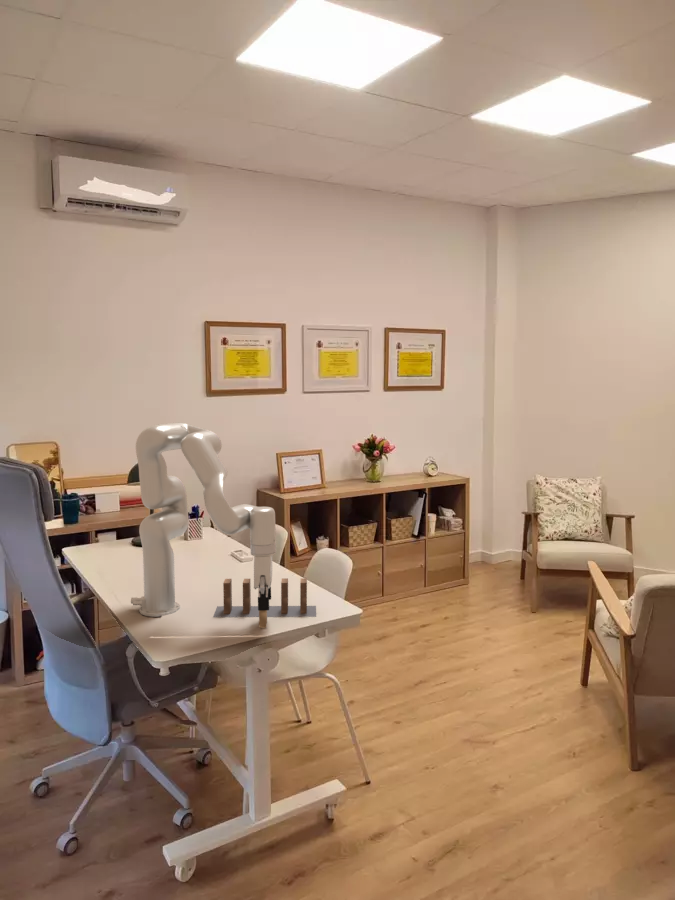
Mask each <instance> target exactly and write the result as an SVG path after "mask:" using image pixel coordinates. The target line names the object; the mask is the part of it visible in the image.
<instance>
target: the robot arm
mask: <svg viewBox="0 0 675 900" xmlns="http://www.w3.org/2000/svg"><path fill="white" fill-rule="evenodd" d="M222 445H223V444H222V440H221V438H220V436H219V435H218V434H217V433H216V432H214V431H213V430H210V429H206V428H202V427H199V426H195V425H191V424H189V423H185V422H170V423H161V424H154V425H151V426H149V427H146V428H145V429H143V430H142V431H141V432H140V433H139V435H138V436H137V438H136V441H135V454H136V459H137V463H138V464H137V465H138V478H139V487H140V497H141V498H140V499H141V502H142V504H143V506H144V507H145V508H147V509H149V510H158V509H161V511H157V512H154V513H151V514H149V515H147V516H146V517H144V519H142V521H141V522H140V524H139V529H138V530H139V532H138V533H139V537H140V542H141V546H142V547H141V548H142V549H141V550H142V563H143V565H142V566H143V567H142V568H143V596H141V597H130V604H132V606H140V607H139V613H140V614H141V615H142V616H145V617H153V618H159V617H162V616H167V615H171V614H174V613H176V612H178V611H179V610H180V609H181V604H180V603H178V602H176V588H175V587H176V586H175V584H176V583H175V582H176V581H175V578H176V577H175V575H176V574H175V556H174V555H175V554H174V549H173V547H172V545H171V541H170V540H173V539H175V538H178V537H181V536H183V535H184V534H185V533H186V531H187V529H188V527H189V509H188V500H187V499H188V498H187V497H188V496H187V489H186V487H185V484H184V482H183V481H182V480H181V479H180V478H179V477H177V476H175V475H168V467H167V462H166V460H165V458H164V456H163V455H162V453H164V452H170V451H175V450H181V453H182V454H183V456H184V457H185V459H186V460H187V462H188V463H189V466H190V468H191V469H192V470H193V472H194V474H195V475H196V476H197V478H198V481H199V482H200V483H201V485H202V487H203V488H202V490H203V500H204V506H205V509H206V511H207V513H208V514H209V516H210V518H211V520H212V522H213V523H214V525H216V527H217V528H218V530H219V531H221V532H222V533H224V534H225V535H235V534H238V533H240V532H242V531H246V530H249V538H250V539H249V541H250V555H251V556H253V589H254V590H257V589H258V592H257V594H258V595H257V596H258V597H257V606H258V610H259V611H265V610H269V606H270V600H272V586H271V585H272V581H273V556H274V555H276V554H277V540H276V539H277V535H276V534H277V533H276V532H277V531H276V512H275V509H274V508H273V507H272V506H271V507H270V506H256V505H254V504H253V505H252V504H248V503H244V504H243V503H242V504H238V505H235V506H233V507H231V505H230V503H229V501H228V500H227V497H226V496H225V493H224V483H225V480H226V478H227V476H228V470H227V468H226V467H225V464H224V463H223V462H222V460H221V459H220V457H219V455H218V454H219V453H220V452H221V450H222Z"/></svg>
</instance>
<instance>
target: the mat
mask: <svg viewBox="0 0 675 900" xmlns="http://www.w3.org/2000/svg"><path fill="white" fill-rule="evenodd" d="M293 617H294V618H296V617H297V618H300V617H301V618H309V617H311V618H315V617H317V605H307V614H300V605H288V614H281V605H269V610H267V618H293ZM212 618H259V610H258V605H251V609H250V613H249V614H243V605H241V606H240V605H236V606H235V605H232V610H231V613H230V614H224V605H223V606H222V605H217V606H216V608H215V611H214V614H213V616H212Z"/></svg>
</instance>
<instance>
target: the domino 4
mask: <svg viewBox="0 0 675 900" xmlns="http://www.w3.org/2000/svg"><path fill="white" fill-rule="evenodd" d="M280 585H281V587H280V590H281V591H280V594H281V595H280V599H281V600H280V602H281V604H280V606H281V614H288V606H289V578H281V581H280Z"/></svg>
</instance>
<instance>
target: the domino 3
mask: <svg viewBox="0 0 675 900" xmlns="http://www.w3.org/2000/svg"><path fill="white" fill-rule="evenodd" d="M267 625H268V617H267V610H265V611H259V617H258V628H259V629H266V628H267Z"/></svg>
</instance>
